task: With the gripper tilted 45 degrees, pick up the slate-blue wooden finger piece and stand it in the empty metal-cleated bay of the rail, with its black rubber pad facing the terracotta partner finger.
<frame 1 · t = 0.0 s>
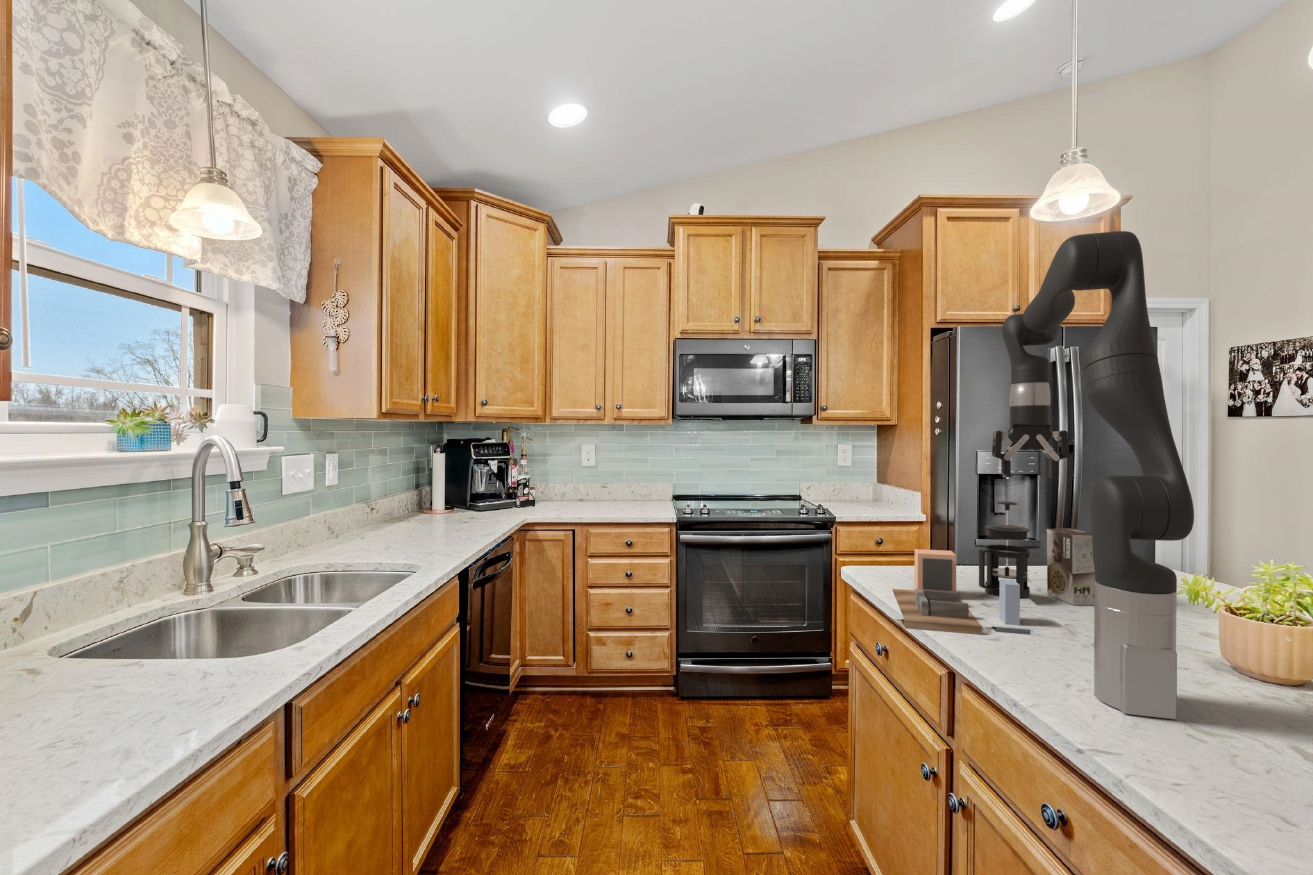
hand: (1029, 477, 127), 29 cm above the countertop, tool pointing down, fingers open, 8 cm apart
finger piece: (1009, 629, 115), on the countertop
french press: (1004, 600, 135), on the countertop
coffee box: (1072, 600, 134), on the countertop
partner finger: (934, 594, 134), resting on rail
rail: (932, 612, 126), on the countertop
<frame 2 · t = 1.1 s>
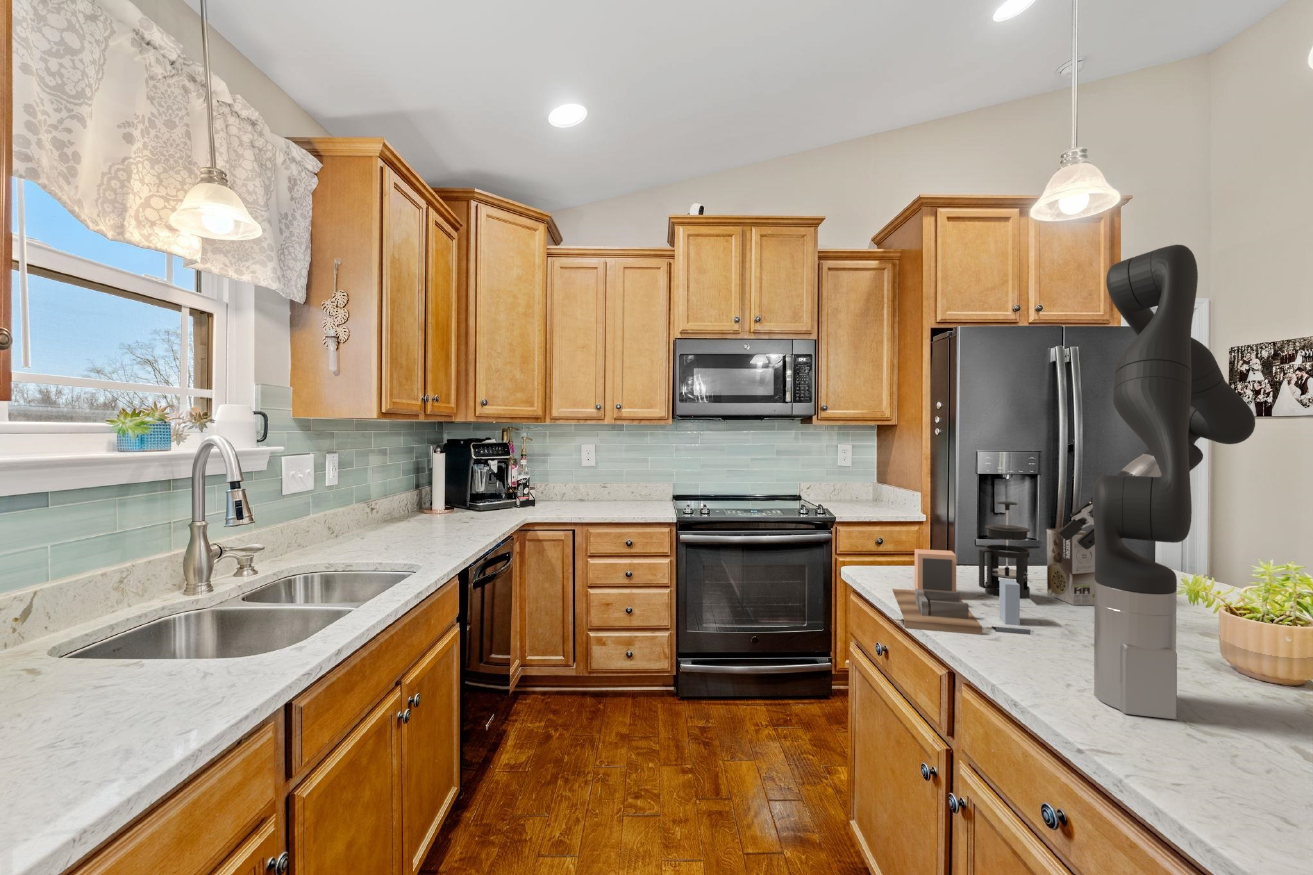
hand: (1071, 541, 112), 18 cm above the countertop, tool tilted 45°, fingers open, 8 cm apart
nothing on the countertop moved.
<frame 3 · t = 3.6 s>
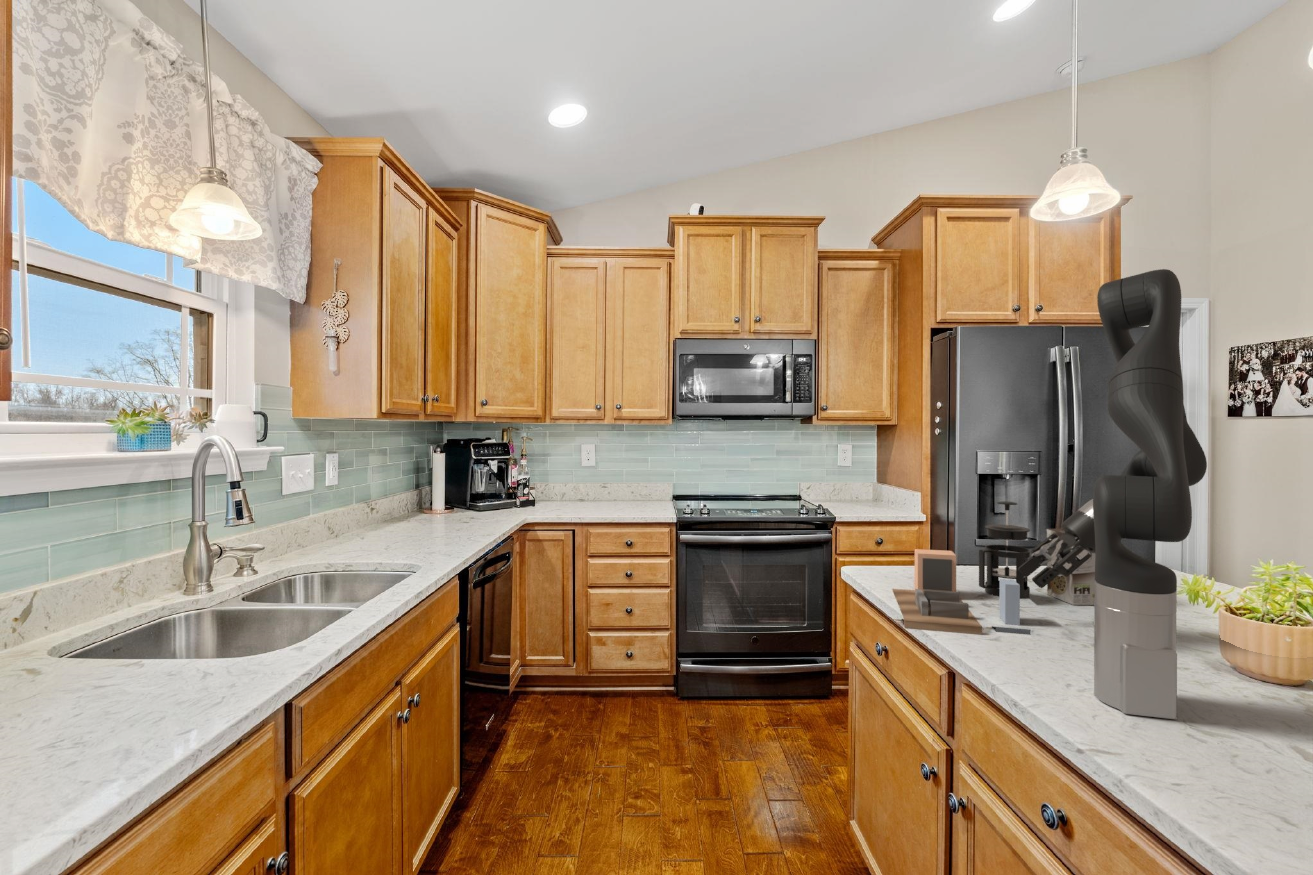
hand: (1028, 578, 114), 10 cm above the countertop, tool tilted 45°, fingers open, 8 cm apart
nothing on the countertop moved.
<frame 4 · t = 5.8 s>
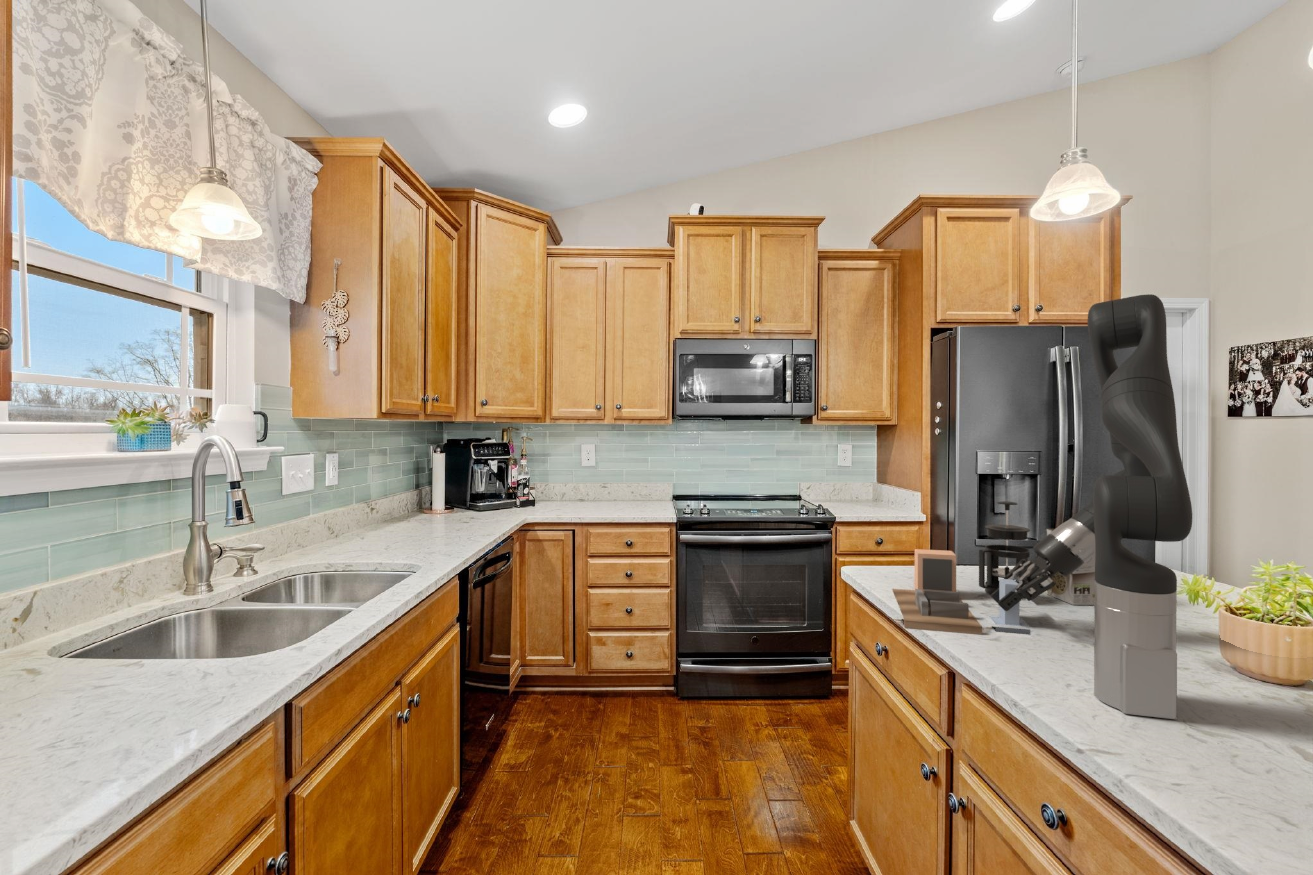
hand: (998, 603, 116), 5 cm above the countertop, tool tilted 45°, fingers closed on finger piece, 4 cm apart
finger piece: (1009, 628, 115), on the countertop, touching gripper
everything else where it was.
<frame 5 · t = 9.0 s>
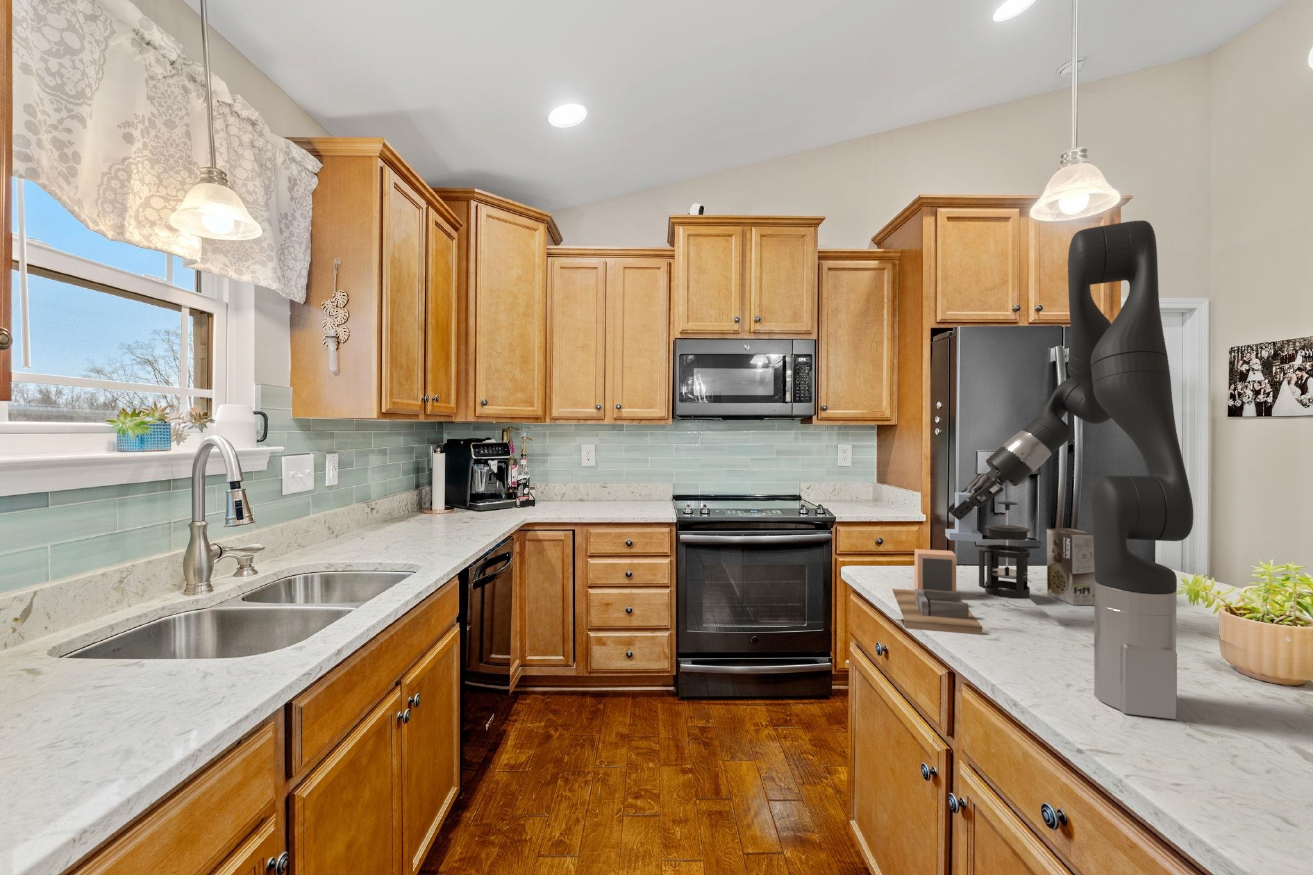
hand: (952, 514, 121), 22 cm above the countertop, tool tilted 45°, fingers closed on finger piece, 4 cm apart
finger piece: (963, 538, 120), point 17 cm above the countertop, touching gripper
everything else where it was.
when the fingers open (8 cm above the countertop, at t = 12.4 s): finger piece drops 1 cm, resting on rail.
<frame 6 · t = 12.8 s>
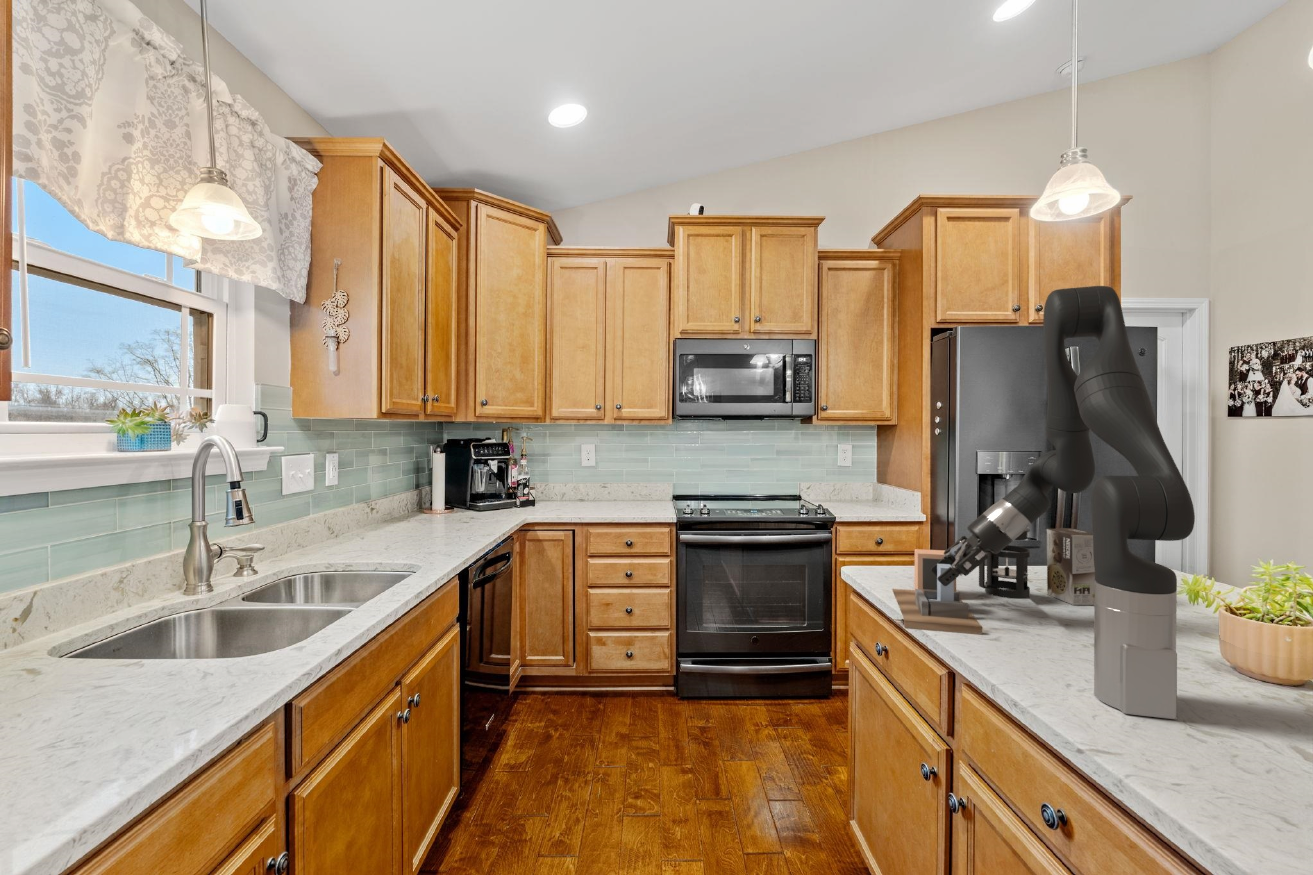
hand: (937, 577, 123), 8 cm above the countertop, tool tilted 45°, fingers open, 7 cm apart
finger piece: (945, 610, 122), point 1 cm above the countertop, touching rail
everything else where it was.
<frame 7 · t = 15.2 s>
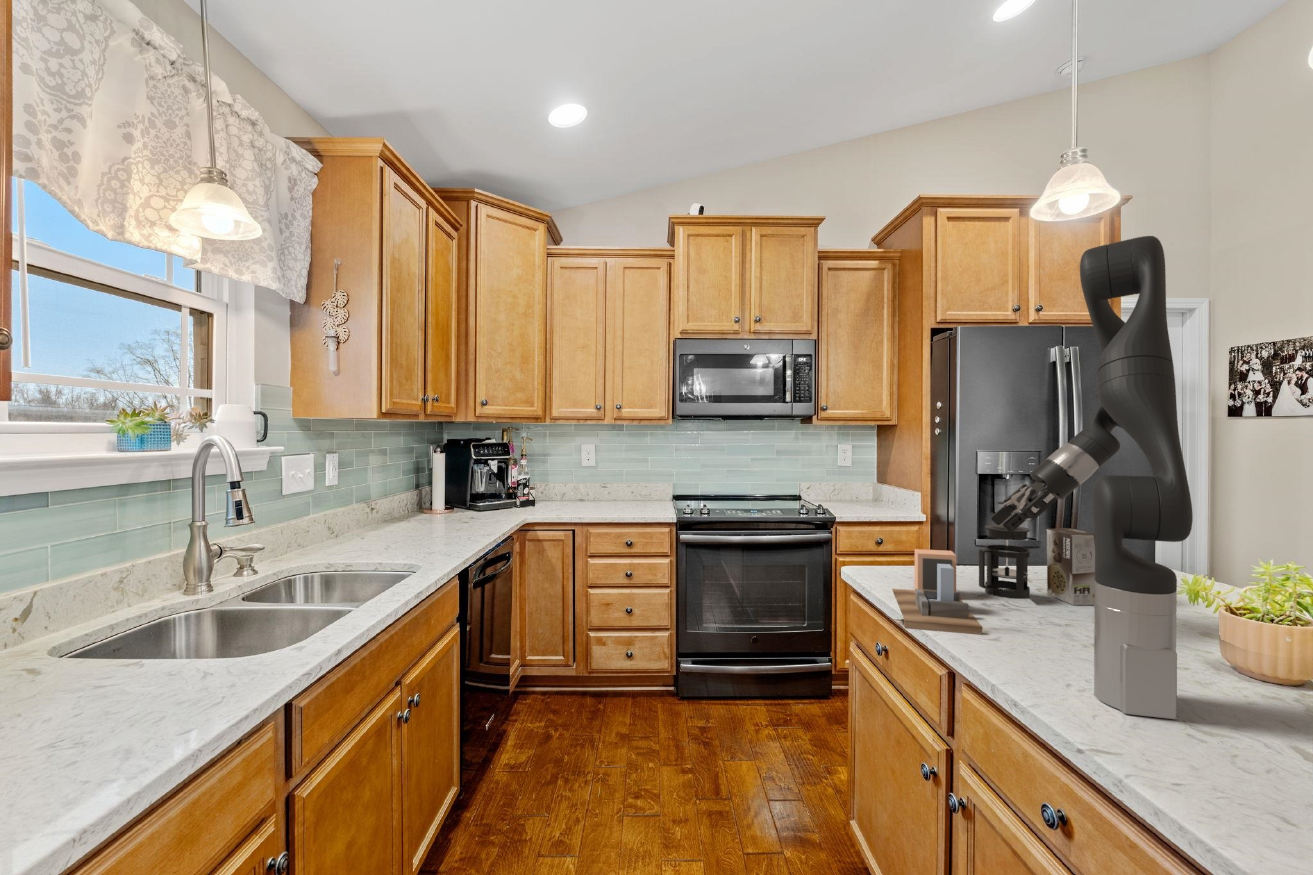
hand: (999, 525, 119), 20 cm above the countertop, tool tilted 45°, fingers open, 8 cm apart
nothing on the countertop moved.
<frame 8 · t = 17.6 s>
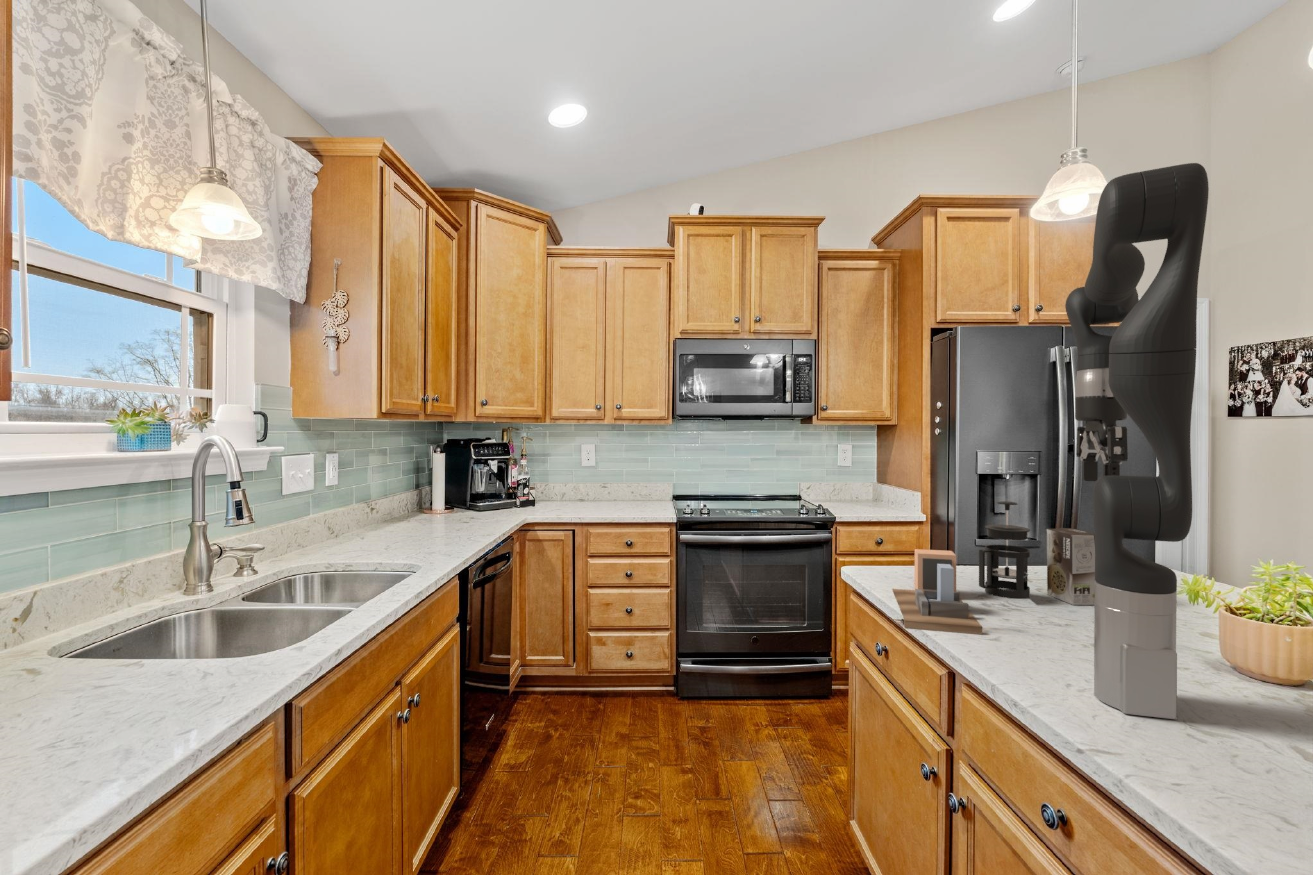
hand: (1100, 483, 105), 30 cm above the countertop, tool pointing down, fingers open, 8 cm apart
nothing on the countertop moved.
at the end: finger piece 0.1 cm from the target spot on the rail, point 1.5 cm above the rail's base; finger piece tilted 0°; the gripper is holding nothing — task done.
